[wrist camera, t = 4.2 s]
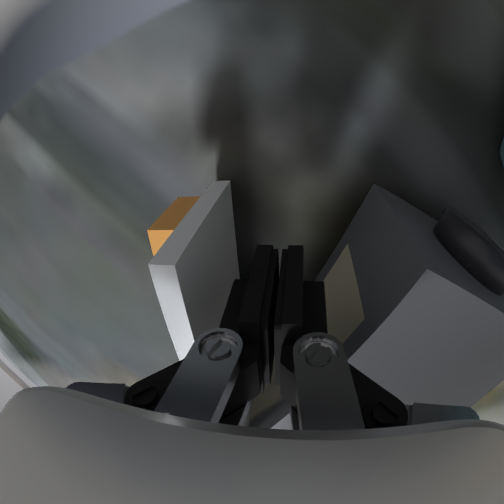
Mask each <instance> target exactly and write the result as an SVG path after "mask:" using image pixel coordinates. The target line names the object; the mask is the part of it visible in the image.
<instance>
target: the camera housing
mask: <svg viewBox="0 0 504 504" xmlns="http://www.w3.org/2000/svg"><path fill="white" fill-rule="evenodd" d="M314 281H324V286H325V299H326V314H327V331H328V334H331V335H332V336H334V337H336V338H337V339H338V340H339V341H340V342H341V343H342V345H343V347H344V350H345V353H346V357H347V360H348V363H349V364H351V365H352V366H353V367H355V368H356V369H358V370H359V371H360V372H362V373H363V374H364V375H366V376H367V377H369V378H370V379H371V380H373V381H374V382H376V383H377V384H378V385H380V386H381V387H383V388H384V389H386V390H387V391H388V392H390V393H391V394H393V395H394V396H395V397H397V398H398V399H399V400H401V401H402V402H403V403H404V404H406V405H412V403H413V402H416V403H426V404H438V405H452V406H466V407H471V406H472V405H474V404H475V403H476V402H477V401H479V400H480V399H481V398H482V397H484V396H485V395H486V394H487V393H489V392H490V391H491V390H492V389H493V388H495V387H496V386H497V385H498V384H499V383H500V382H502V381H503V380H504V252H503V251H502V250H501V248H500V247H499V246H498V245H497V244H496V243H495V242H494V241H493V240H492V239H491V238H490V237H488V236H487V235H486V234H485V233H484V232H483V231H482V230H481V229H480V228H478V227H477V226H476V225H475V224H474V223H473V222H471V221H470V220H469V219H467V218H466V217H465V216H464V215H462V214H461V213H459V212H458V211H456V210H455V209H453V208H451V207H449V206H448V207H447V208H446V210H445V211H444V213H443V215H442V216H441V218H440V219H439V221H437V220H435V219H433V218H432V217H430V216H429V215H427V214H426V213H424V212H422V211H421V210H419V209H418V208H416V207H414V206H413V205H411V204H409V203H408V202H406V201H404V200H403V199H401V198H399V197H398V196H396V195H394V194H392V193H391V192H389V191H387V190H385V189H384V188H382V187H380V186H378V185H376V184H375V183H373V185H372V187H371V189H370V190H369V192H368V194H367V196H366V197H365V199H364V201H363V203H362V204H361V206H360V208H359V209H358V211H357V213H356V215H355V216H354V218H353V220H352V221H351V223H350V225H349V226H348V228H347V230H346V231H345V233H344V234H343V236H342V238H341V239H340V241H339V243H338V244H337V246H336V247H335V249H334V251H333V252H332V254H331V255H330V257H329V259H328V260H327V262H326V263H325V265H324V266H323V268H322V270H321V271H320V273H319V274H318V276H317V277H316V279H315V280H314ZM243 426H246V427H256V428H269V429H286V430H292V427H291V416H290V404H289V403H288V402H287V401H286V400H284V399H283V398H282V397H281V396H280V385H275V353H274V361H273V369H272V377H271V384H265V386H264V392H260V394H259V395H258V396H256V397H255V398H253V399H252V400H251V404H250V408H249V410H248V413H247V416H246V418H245V421H244V424H243Z"/></svg>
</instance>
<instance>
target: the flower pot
mask: <svg viewBox="0 0 504 504" xmlns="http://www.w3.org/2000/svg"><path fill="white" fill-rule="evenodd" d="M500 156H501V160H502V164H503V167H504V137H503V140H502V144H501V147H500Z"/></svg>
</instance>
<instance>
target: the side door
mask: <svg viewBox="0 0 504 504" xmlns="http://www.w3.org/2000/svg"><path fill="white" fill-rule="evenodd" d="M147 231H148V236H149V240H150V244H151V248H152V252H153V256H154V257H153V258H152V260H151V261H150V262H149V264H148V266H149V269H150V273H151V276H152V279H153V283H154V286H155V289H156V293H157V296H158V299H159V302H160V305H161V309H162V312H163V315H164V318H165V321H166V324H167V327H168V330H169V333H170V335H171V338H172V341H173V344H174V347H175V349H176V352H177V355H178V358H179V360H182V359H184V358H185V357H186V355H187V353H188V352H189V350H190V348H191V346H192V345H193V343H194V341H195V340H196V339H197V337H198V336H199V335H201V334H202V333H203V332H205V331H208V330H210V329H214V328H219V326H220V323H221V320H222V316H223V313H224V310H225V307H226V304H227V301H228V297H229V294H230V291H231V288H232V285H233V282H234V280H235V279H240V275H239V265H238V256H237V246H236V236H235V226H234V216H233V205H232V195H231V184H230V181H213V182H212V183H211V185H210V186H209V187H208V188H207V189H206V191H205V192H204V193H203V194H202V195H201V196H196V197H178V198H177V199H176V200H175V201H174V202H173V203H172V204H171V205H170V206H169V207H168V208H167V209H166V210H165V212H164V213H163V214H162V215H161V216H160V217H159V218H158V219H157V220H156V221H155V222H154V223H153V224H152V226H151V227H150V228H149V229H148V230H147Z"/></svg>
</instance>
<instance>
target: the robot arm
mask: <svg viewBox="0 0 504 504" xmlns="http://www.w3.org/2000/svg"><path fill="white" fill-rule="evenodd" d="M274 353H275V385H280V396H281V397H282V398H283V399H284V400H286V401H287V402H288V403H289V404H290V416H291V427H292V430H286V429H269V428H256V427H246V426H243V424H244V421H245V418H246V416H247V413H248V410H249V408H250V404H251V400H252V399H253V398H255V397H256V396H258V395H259V394H260V392H264V386H265V384H271V377H272V369H273V361H274ZM0 504H504V425H502V424H499V423H495V422H491V421H485V420H479V416H478V415H477V413H476V412H475V411H474V410H473V409H471V408H470V407H466V406H452V405H438V404H426V403H416V402H413V403H412V405H406V404H404V403H403V402H402V401H401V400H399V399H398V398H397V397H395V396H394V395H393V394H391V393H390V392H388V391H387V390H386V389H384V388H383V387H381V386H380V385H378V384H377V383H376V382H374V381H373V380H371V379H370V378H369V377H367V376H366V375H364V374H363V373H362V372H360V371H359V370H358V369H356V368H355V367H353V366H352V365H351V364H349V363H348V360H347V357H346V353H345V350H344V347H343V345H342V343H341V342H340V341H339V340H338V339H337V338H336V337H334V336H332V335H331V334H328V331H327V314H326V299H325V286H324V281H303V246H300V245H289V246H288V249H283V250H282V259H281V268H280V277H279V257H278V249H273V246H272V245H257V248H256V252H255V256H254V259H253V263H252V267H251V271H250V275H249V279H235V280H234V282H233V285H232V288H231V291H230V294H229V297H228V301H227V304H226V307H225V310H224V313H223V316H222V320H221V323H220V326H219V328H214V329H210V330H208V331H205V332H203V333H202V334H201V335H199V336H198V337H197V339H196V340H195V341H194V343H193V345H192V346H191V348H190V350H189V352H188V353H187V355H186V357H185V358H184V359H182V360H180V361H178V362H176V363H174V364H172V365H171V366H169V367H167V368H165V369H163V370H161V371H159V372H157V373H154V374H152V375H150V376H148V377H146V378H144V379H142V380H140V381H138V382H136V383H135V384H133V385H132V386H131V387H127V385H126V384H121V383H93V382H74V383H72V384H70V385H68V386H67V387H66V388H61V387H49V386H44V387H32V388H27V389H24V390H21V391H19V392H18V393H16V394H15V395H14V396H13V397H12V398H11V399H10V400H9V401H8V403H7V404H6V405H5V407H4V408H3V410H2V411H1V412H0Z"/></svg>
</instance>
